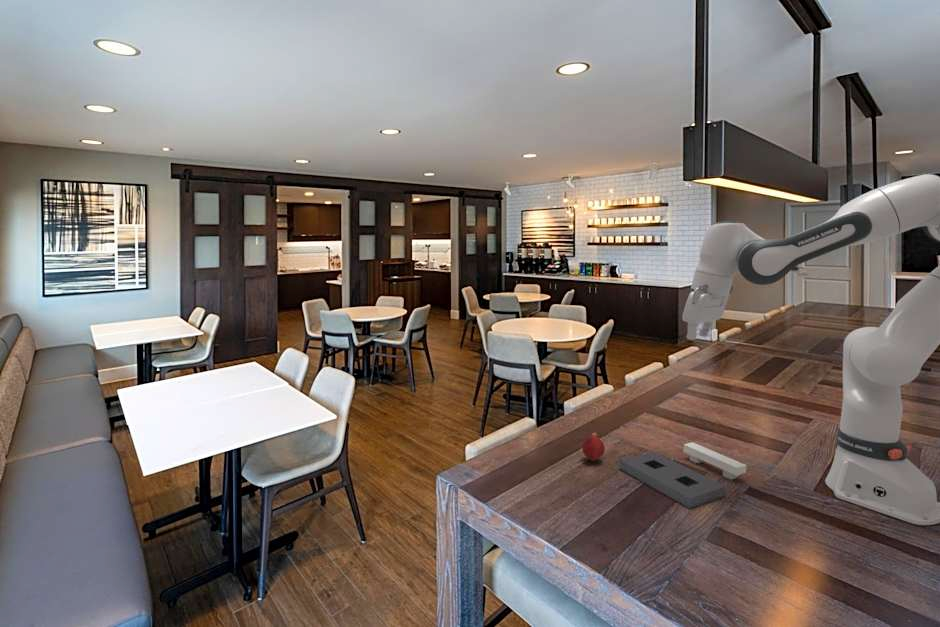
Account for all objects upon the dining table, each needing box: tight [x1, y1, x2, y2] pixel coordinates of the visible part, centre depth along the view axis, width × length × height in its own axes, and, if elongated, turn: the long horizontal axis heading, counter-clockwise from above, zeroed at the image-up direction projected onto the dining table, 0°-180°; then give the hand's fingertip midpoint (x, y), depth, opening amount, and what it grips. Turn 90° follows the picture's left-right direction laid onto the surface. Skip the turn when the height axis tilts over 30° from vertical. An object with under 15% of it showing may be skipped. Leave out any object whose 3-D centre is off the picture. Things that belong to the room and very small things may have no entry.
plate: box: [619, 451, 727, 509], centre depth 125 cm, size 22×12×2 cm, turn 27°
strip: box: [682, 441, 747, 480], centre depth 132 cm, size 16×4×4 cm, turn 27°
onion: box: [581, 432, 606, 462], centre depth 137 cm, size 6×6×8 cm
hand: (697, 337), depth 129 cm, fingers open, 8 cm apart
